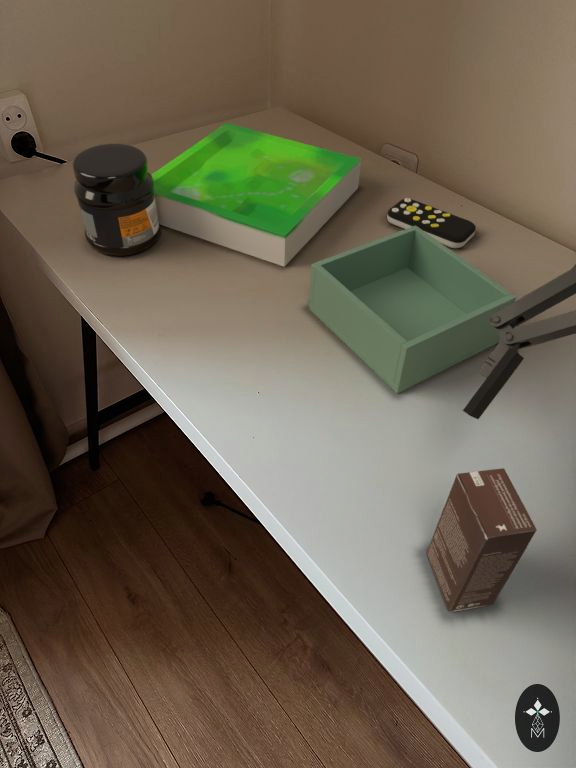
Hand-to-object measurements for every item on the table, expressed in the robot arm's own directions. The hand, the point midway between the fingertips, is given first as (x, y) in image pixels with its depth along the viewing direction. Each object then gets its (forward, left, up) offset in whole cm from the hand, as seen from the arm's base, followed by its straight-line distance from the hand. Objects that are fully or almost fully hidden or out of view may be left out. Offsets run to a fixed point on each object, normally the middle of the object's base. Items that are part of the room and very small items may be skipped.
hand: (537, 464), depth 51 cm
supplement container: (+64, +10, -11) cm, 66 cm away
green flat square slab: (+63, -11, -11) cm, 65 cm away
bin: (+28, -12, -11) cm, 33 cm away
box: (-1, +6, -11) cm, 13 cm away
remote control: (+43, -30, -11) cm, 54 cm away
